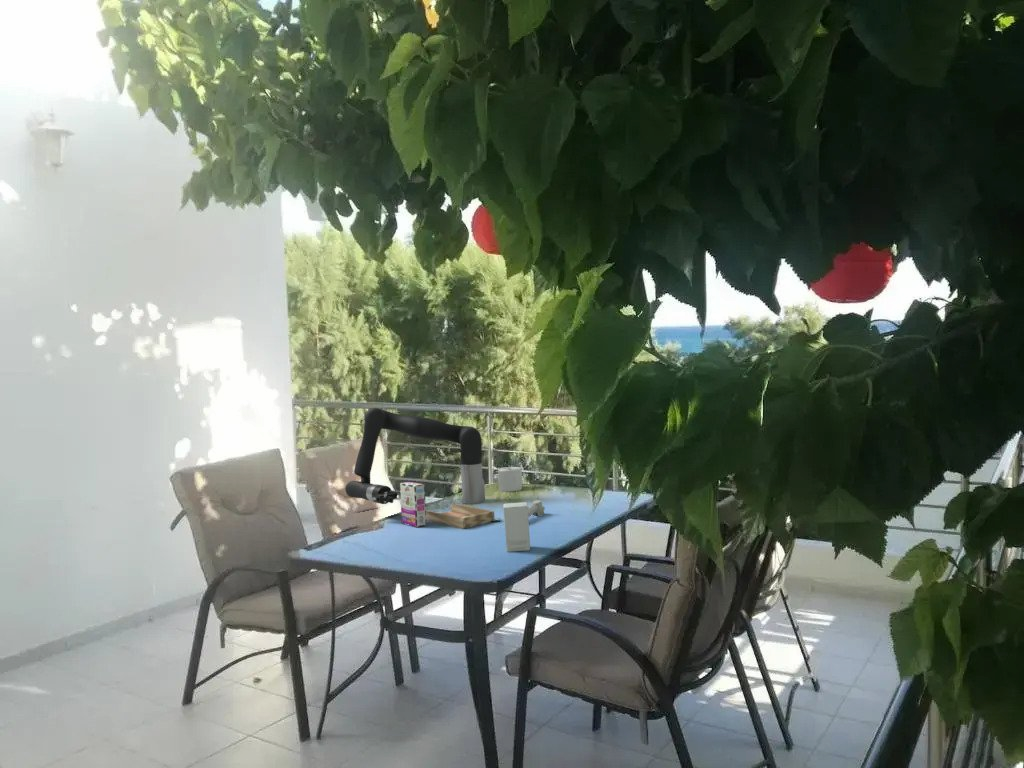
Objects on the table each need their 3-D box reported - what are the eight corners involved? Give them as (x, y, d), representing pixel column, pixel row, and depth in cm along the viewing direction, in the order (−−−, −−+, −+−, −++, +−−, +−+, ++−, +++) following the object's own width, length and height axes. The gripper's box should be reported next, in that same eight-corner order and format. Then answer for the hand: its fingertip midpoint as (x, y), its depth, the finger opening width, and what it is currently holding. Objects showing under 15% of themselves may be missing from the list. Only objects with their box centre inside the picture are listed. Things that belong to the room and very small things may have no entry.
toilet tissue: (523, 487, 394) (522, 466, 393) (520, 492, 382) (519, 470, 381) (501, 487, 395) (500, 467, 394) (497, 492, 383) (496, 471, 383)
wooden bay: (453, 512, 344) (453, 503, 343) (494, 521, 324) (494, 511, 324) (422, 519, 333) (422, 510, 332) (463, 529, 314) (462, 518, 313)
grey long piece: (506, 517, 313) (534, 496, 335) (508, 534, 314) (535, 511, 336) (518, 518, 311) (545, 496, 333) (520, 535, 312) (547, 512, 334)
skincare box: (529, 546, 284) (527, 501, 283) (530, 551, 278) (528, 505, 277) (505, 547, 284) (503, 502, 283) (505, 552, 278) (503, 506, 277)
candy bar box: (427, 525, 322) (425, 484, 321) (416, 527, 319) (414, 486, 318) (411, 521, 331) (409, 480, 330) (401, 523, 328) (399, 482, 327)
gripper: (363, 487, 337) (386, 492, 325) (392, 482, 347) (415, 486, 335) (364, 505, 338) (387, 510, 326) (393, 499, 347) (416, 504, 335)
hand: (401, 498), depth 330 cm, fingers open, 8 cm apart
